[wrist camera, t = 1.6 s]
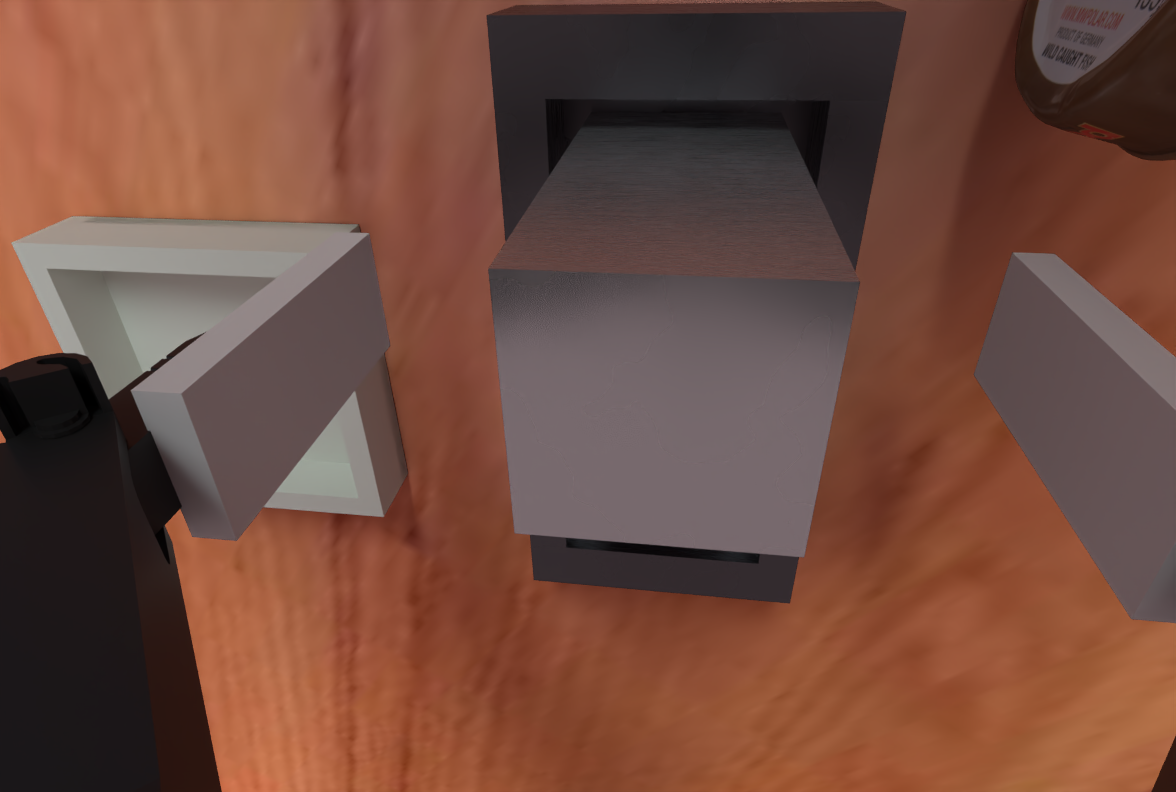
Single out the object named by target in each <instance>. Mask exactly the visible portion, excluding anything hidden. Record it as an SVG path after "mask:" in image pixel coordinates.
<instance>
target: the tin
mask: <svg viewBox="0 0 1176 792" xmlns="http://www.w3.org/2000/svg"><path fill="white" fill-rule="evenodd" d="M1015 78H1016V83H1017V86H1018V89H1019V91H1020V93H1021V95H1022V97H1023V99H1024V101H1025V102H1026V104H1027V106H1028V107H1029V109H1030V111H1031V112H1032V113H1033V114H1034V115H1035V116H1036V117H1037V118H1038V119H1040V120H1041V121H1042V122H1044V123H1046V124H1048V125H1051V126H1054V127H1057V128H1059V129H1062V130H1065V131H1068V132H1072V133H1076V134H1079V135H1083V136H1087V137H1091V138H1094V139H1098V140H1102V141H1106V142H1109V143H1113V144H1117V145H1118V146H1119V147H1121V148H1122V149H1123V150H1125V151H1126V152H1127V153H1129V154H1131V155H1133V156H1135V157H1138V158H1141V159H1145V160H1156V161H1165V160H1175V159H1176V0H1027V3H1026V7H1025V10H1024V13H1023V17H1022V22H1021V26H1020V30H1019V35H1018V40H1017V47H1016V57H1015Z"/></svg>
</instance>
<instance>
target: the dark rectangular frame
mask: <svg viewBox="0 0 1176 792" xmlns="http://www.w3.org/2000/svg"><path fill="white" fill-rule="evenodd" d="M905 15H906V11H903V10H900V9H897V8H894V7H891V6H888V5H885V4H882V3H879V2H791V3H698V4H605V5H516V6H513V7H510V8H507V9H504V10H501V11H498V12H495V13H492V14H489V15H487V25H488V37H489V49H490V61H491V73H492V85H493V97H494V109H495V121H496V133H497V145H498V157H499V168H500V180H501V192H502V204H503V216H504V228H505V240H506V241H507V239H508V238H509V236H510V235H511V233H512V232H513V230H514V229H515V227H516V226H517V224H518V223H519V221H520V220H521V218H522V217H523V215H524V213H525V212H526V210H527V209H528V207H529V206H530V204H531V203H532V201H533V200H534V198H535V197H536V195H537V194H538V192H539V191H540V189H541V188H542V186H543V185H544V183H545V182H546V180H547V178H548V177H549V175H550V174H551V172H552V171H553V169H554V168H555V166H556V165H557V163H558V162H559V160H560V159H561V157H562V156H563V154H564V153H565V151H566V150H567V148H568V147H569V145H570V144H571V142H572V140H573V139H574V137H575V136H576V134H577V133H578V131H579V130H580V128H581V127H582V125H583V124H584V122H585V121H586V119H587V118H588V116H589V115H590V113H591V112H676V113H782V116H783V118H784V120H785V122H786V124H787V126H788V128H789V131H790V133H791V135H792V137H793V139H794V141H795V143H796V146H797V148H798V150H799V152H800V154H801V156H802V159H803V161H804V163H805V165H806V167H807V169H808V171H809V174H810V176H811V178H812V180H813V182H814V184H815V186H816V189H817V191H818V193H819V195H820V197H821V199H822V202H823V204H824V206H825V208H826V210H827V212H828V214H829V217H830V219H831V221H832V223H833V225H834V227H835V229H836V232H837V234H838V236H839V238H840V240H841V242H842V245H843V247H844V249H845V251H846V253H847V255H848V257H849V260H850V262H851V264H852V266H853V268H854V270H855V269H856V264H857V259H858V254H859V249H860V244H861V239H862V234H863V229H864V224H865V219H866V214H867V208H868V203H869V198H870V193H871V188H872V183H873V178H874V173H875V168H876V163H877V158H878V153H879V147H880V142H881V137H882V132H883V127H884V122H885V117H886V112H887V107H888V102H889V97H890V92H891V87H892V81H893V76H894V71H895V66H896V61H897V56H898V51H899V46H900V41H901V36H902V31H903V26H904V21H905ZM530 539H531V551H532V563H533V575H534V580H539V581H550V582H561V583H572V584H583V585H594V586H605V587H616V588H627V589H638V590H649V591H660V592H671V593H682V594H693V595H704V596H715V597H726V598H736V599H747V600H758V601H769V602H780V603H790V599H791V594H792V589H793V584H794V579H795V574H796V569H797V564H798V559H799V557H794V556H782V555H770V554H758V553H746V552H734V551H722V550H710V549H698V548H686V547H674V546H662V545H650V544H638V543H626V542H614V541H602V540H590V539H577V538H565V537H553V536H541V535H530Z"/></svg>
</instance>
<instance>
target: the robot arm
mask: <svg viewBox="0 0 1176 792" xmlns="http://www.w3.org/2000/svg"><path fill="white" fill-rule="evenodd" d="M389 346H390V342H389V337H388V331H387V326H386V320H385V315H384V310H383V304H382V299H381V294H380V288H379V283H378V278H377V272H376V267H375V261H374V256H373V251H372V245H371V240H370V235H369V233H347V232H335V233H334V234H333V235H332V236H330V237H329V238H328V239H326V240H325V241H324V242H322V243H321V244H320V245H319V246H317V247H316V248H315V249H313V250H312V251H311V252H309V253H308V254H307V255H306V256H304V257H303V258H302V259H300V260H299V261H298V262H297V263H295V264H294V265H293V266H291V267H290V268H289V269H287V270H286V271H285V272H284V273H282V274H281V275H280V276H278V277H277V278H276V279H274V280H273V281H272V282H271V283H269V284H268V285H267V286H265V287H264V288H263V289H262V290H260V291H259V292H258V293H256V294H255V295H254V296H252V297H251V298H250V299H249V300H247V301H246V302H245V303H243V304H242V305H241V306H240V307H238V308H237V309H236V310H234V311H233V312H232V313H230V314H229V315H228V316H227V317H225V318H224V319H223V320H221V321H220V322H219V323H217V324H216V325H215V326H214V327H212V328H211V329H210V330H208V331H207V332H205V333H203V334H200V335H198V336H196V337H194V338H191V339H189V340H187V341H185V342H184V343H182V344H181V345H180V346H178V347H177V348H176V349H175V350H173V351H172V352H171V353H169V354H168V355H167V356H166V359H161V360H160V361H159V362H157V363H156V364H155V365H153V366H152V367H151V370H150V371H146V372H144V373H143V374H142V375H140V376H139V377H138V378H136V379H135V380H134V381H132V382H131V383H130V384H128V385H127V386H126V387H124V388H123V389H122V390H120V391H119V392H118V393H116V394H115V395H114V396H113V397H111V398H110V399H108V397H107V395H106V392H105V390H104V388H103V386H102V383H101V381H100V379H99V377H98V374H97V372H96V370H95V368H94V365H93V363H92V362H91V360H90V359H89V358H88V356H85V355H81V354H77V353H56V354H50V355H44V356H38V357H34V358H31V359H28V360H24V361H21V362H17V363H15V364H13V365H10V366H8V367H6V368H4V369H1V370H0V430H1V432H2V434H3V436H4V437H5V439H6V443H0V792H222V791H221V786H220V781H219V776H218V771H217V766H216V761H215V756H214V751H213V746H212V741H211V735H210V730H209V725H208V720H207V715H206V710H205V705H204V700H203V695H202V690H201V685H200V680H199V675H198V670H197V665H196V660H195V655H194V650H193V645H192V640H191V635H190V630H189V625H188V620H187V615H186V610H185V604H184V599H183V594H182V589H181V584H180V579H179V574H178V569H177V564H176V559H175V554H174V549H173V544H172V541H171V539H170V536H169V534H168V532H167V530H166V527H165V524H166V523H167V522H168V521H169V520H170V519H171V518H172V517H173V516H174V515H175V513H176V512H177V511H178V510H179V509H181V511H182V513H183V516H184V518H185V521H186V523H187V525H188V528H189V530H190V532H191V535H192V537H199V538H211V539H222V540H234V541H237V540H238V539H239V537H240V536H241V535H242V534H243V532H244V531H245V530H246V528H247V527H248V526H249V525H250V523H251V522H252V521H253V520H254V518H255V517H256V516H257V514H258V513H259V512H260V511H261V509H262V508H263V507H264V506H265V504H266V503H267V502H268V500H269V499H270V498H271V497H272V495H273V494H274V493H275V492H276V490H277V489H278V488H279V486H280V485H281V484H282V483H283V481H284V480H285V479H286V478H287V476H288V475H289V474H290V472H291V471H292V470H293V469H294V467H295V466H296V465H297V464H298V462H299V461H300V460H301V458H302V457H303V456H304V455H305V453H306V452H307V451H308V450H309V448H310V447H311V446H312V444H313V443H314V442H315V441H316V439H317V438H318V437H319V436H320V434H321V433H322V432H323V430H324V429H325V428H326V427H327V425H328V424H329V423H330V422H331V420H332V419H333V418H334V416H335V415H336V414H337V413H338V411H339V410H340V409H341V408H342V406H343V405H344V404H345V402H346V401H347V400H348V399H349V397H350V396H351V395H352V394H353V392H354V391H355V390H356V388H357V387H358V386H359V385H360V383H361V382H362V381H363V380H364V378H365V377H366V376H367V374H368V373H369V372H370V371H371V369H372V368H373V367H374V366H375V364H376V363H377V362H378V360H379V359H380V358H381V357H382V355H383V354H384V353H385V352H386V350H387V349H388V348H389ZM974 376H975V378H976V379H977V381H978V382H979V384H980V385H981V387H982V388H983V390H984V391H985V393H986V395H987V396H988V398H989V399H990V401H991V402H992V404H993V405H994V407H995V409H996V410H997V412H998V413H999V415H1000V416H1001V418H1002V419H1003V421H1004V422H1005V424H1006V426H1007V427H1008V429H1009V430H1010V432H1011V433H1012V435H1013V436H1014V438H1015V440H1016V441H1017V443H1018V444H1019V446H1020V447H1021V449H1022V450H1023V452H1024V453H1025V455H1026V457H1027V458H1028V460H1029V461H1030V463H1031V464H1032V466H1033V467H1034V469H1035V471H1036V472H1037V474H1038V475H1039V477H1040V478H1041V480H1042V481H1043V483H1044V484H1045V486H1046V488H1047V489H1048V491H1049V492H1050V494H1051V495H1052V497H1053V498H1054V500H1055V502H1056V503H1057V505H1058V506H1059V508H1060V509H1061V511H1062V512H1063V514H1064V515H1065V517H1066V519H1067V520H1068V522H1069V523H1070V525H1071V526H1072V528H1073V529H1074V531H1075V533H1076V534H1077V536H1078V537H1079V539H1080V540H1081V542H1082V543H1083V545H1084V547H1085V548H1086V550H1087V551H1088V553H1089V554H1090V556H1091V557H1092V559H1093V560H1094V562H1095V564H1096V565H1097V567H1098V568H1099V570H1100V571H1101V573H1102V574H1103V576H1104V578H1105V579H1106V581H1107V582H1108V584H1109V585H1110V587H1111V588H1112V590H1113V591H1114V593H1115V595H1116V596H1117V598H1118V599H1119V601H1120V602H1121V604H1122V605H1123V607H1124V609H1125V610H1126V612H1127V613H1128V615H1129V616H1130V618H1131V619H1136V620H1148V621H1159V622H1170V623H1176V357H1175V356H1174V355H1172V354H1171V353H1170V352H1169V351H1168V350H1167V349H1165V348H1164V347H1163V346H1162V345H1161V344H1160V343H1158V342H1157V341H1156V340H1155V339H1154V338H1152V337H1151V336H1150V335H1149V334H1148V333H1147V332H1145V331H1144V330H1143V329H1142V328H1141V327H1140V326H1138V325H1137V324H1136V323H1135V322H1134V321H1133V320H1131V319H1130V318H1129V317H1128V316H1127V315H1126V314H1124V313H1123V312H1122V311H1121V310H1120V309H1119V308H1117V307H1116V306H1115V305H1114V304H1113V303H1112V302H1110V301H1109V300H1108V299H1107V298H1106V297H1105V296H1103V295H1102V294H1101V293H1100V292H1099V291H1098V290H1096V289H1095V288H1094V287H1093V286H1092V285H1091V284H1089V283H1088V282H1087V281H1086V280H1085V279H1083V278H1082V277H1081V276H1080V275H1079V274H1078V273H1076V272H1075V271H1074V270H1073V269H1072V268H1071V267H1069V266H1068V265H1067V264H1066V263H1065V262H1064V261H1062V260H1061V259H1060V258H1059V257H1058V256H1057V255H1055V254H1047V253H1014V252H1012V255H1011V258H1010V262H1009V265H1008V268H1007V271H1006V274H1005V277H1004V281H1003V284H1002V287H1001V290H1000V293H999V296H998V300H997V303H996V306H995V309H994V312H993V315H992V319H991V322H990V325H989V328H988V331H987V334H986V338H985V341H984V344H983V347H982V350H981V353H980V357H979V360H978V363H977V366H976V369H975V373H974ZM1152 792H1176V736H1175V739H1174V741H1173V743H1172V746H1171V748H1170V750H1169V753H1168V755H1167V757H1166V760H1165V762H1164V764H1163V766H1162V769H1161V771H1160V773H1159V776H1158V778H1157V780H1156V783H1155V785H1154V787H1153V789H1152Z"/></svg>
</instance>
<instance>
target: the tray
mask: <svg viewBox="0 0 1176 792" xmlns="http://www.w3.org/2000/svg"><path fill="white" fill-rule="evenodd" d="M335 232H347V233H361V232H360V227H359V224H325V223H291V222H256V221H222V220H188V219H153V218H119V217H84V216H72V217H70V218H67V219H65V220H63V221H60V222H58V223H56V224H53V225H51V226H49V227H47V228H44V229H42V230H40V231H37V232H35V233H33V234H30V235H28V236H26V237H24V238H21V239H19V240H17V241H14V242H12V245H13V247H14V249H15V251H16V253H17V256H18V258H19V260H20V262H21V264H22V266H23V268H24V270H25V272H26V275H27V277H28V279H29V281H30V283H31V285H32V287H33V289H34V291H35V294H36V296H37V298H38V300H39V302H40V304H41V306H42V308H43V310H44V313H45V315H46V317H47V319H48V321H49V323H50V325H51V327H52V329H53V332H54V334H55V336H56V338H57V340H58V342H59V344H60V346H61V348H62V351H63V353H77V354H81V355H85V356H88V358H89V359H90V360H91V362H92V363H93V365H94V368H95V370H96V372H97V374H98V377H99V379H100V381H101V383H102V386H103V388H104V390H105V392H106V395H107V397H108V399H110V398H111V397H113V396H114V395H115V394H116V393H118V392H119V391H120V390H122V389H123V388H124V387H126V386H127V385H128V384H130V383H131V382H132V381H134V380H135V379H136V378H138V377H139V376H140V375H142V374H143V373H144V372H146V371H150V370H151V367H152V366H153V365H155V364H156V363H157V362H159V361H160V360H161V359H166V356H167V355H168V354H169V353H171V352H172V351H173V350H175V349H176V348H177V347H178V346H180V345H181V344H182V343H184V342H185V341H187V340H189V339H191V338H194V337H196V336H198V335H200V334H203V333H205V332H207V331H208V330H210V329H211V328H212V327H214V326H215V325H216V324H217V323H219V322H220V321H221V320H223V319H224V318H225V317H227V316H228V315H229V314H230V313H232V312H233V311H234V310H236V309H237V308H238V307H240V306H241V305H242V304H243V303H245V302H246V301H247V300H249V299H250V298H251V297H252V296H254V295H255V294H256V293H258V292H259V291H260V290H262V289H263V288H264V287H265V286H267V285H268V284H269V283H271V282H272V281H273V280H274V279H276V278H277V277H278V276H280V275H281V274H282V273H284V272H285V271H286V270H287V269H289V268H290V267H291V266H293V265H294V264H295V263H297V262H298V261H299V260H300V259H302V258H303V257H304V256H306V255H307V254H308V253H309V252H311V251H312V250H313V249H315V248H316V247H317V246H319V245H320V244H321V243H322V242H324V241H325V240H326V239H328V238H329V237H330V236H332V235H333V234H334V233H335ZM407 475H408V471H407V466H406V461H405V456H404V451H403V446H402V441H401V436H400V431H399V426H398V421H397V415H396V410H395V405H394V400H393V395H392V390H391V385H390V380H389V375H388V370H387V365H386V360H385V354H383V355H382V357H381V358H380V359H379V360H378V362H377V363H376V364H375V366H374V367H373V368H372V369H371V371H370V372H369V373H368V374H367V376H366V377H365V378H364V380H363V381H362V382H361V383H360V385H359V386H358V387H357V388H356V390H355V391H354V392H353V394H352V395H351V396H350V397H349V399H348V400H347V401H346V402H345V404H344V405H343V406H342V408H341V409H340V410H339V411H338V413H337V414H336V415H335V416H334V418H333V419H332V420H331V422H330V423H329V424H328V425H327V427H326V428H325V429H324V430H323V432H322V433H321V434H320V436H319V437H318V438H317V439H316V441H315V442H314V443H313V444H312V446H311V447H310V448H309V450H308V451H307V452H306V453H305V455H304V456H303V457H302V458H301V460H300V461H299V462H298V464H297V465H296V466H295V467H294V469H293V470H292V471H291V472H290V474H289V475H288V476H287V478H286V479H285V480H284V481H283V483H282V484H281V485H280V486H279V488H278V489H277V490H276V492H275V493H274V494H273V495H272V497H271V498H270V499H269V500H268V502H267V503H266V504H265V506H264V507H268V508H280V509H292V510H305V511H317V512H329V513H341V514H353V515H365V516H378V517H384V516H385V514H386V512H387V511H388V509H389V507H390V505H391V503H392V502H393V500H394V498H395V496H396V494H397V493H398V491H399V489H400V487H401V485H402V484H403V482H404V480H405V478H406V476H407Z"/></svg>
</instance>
